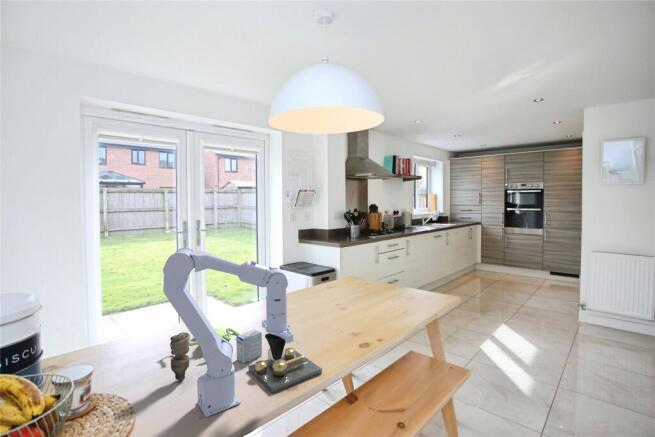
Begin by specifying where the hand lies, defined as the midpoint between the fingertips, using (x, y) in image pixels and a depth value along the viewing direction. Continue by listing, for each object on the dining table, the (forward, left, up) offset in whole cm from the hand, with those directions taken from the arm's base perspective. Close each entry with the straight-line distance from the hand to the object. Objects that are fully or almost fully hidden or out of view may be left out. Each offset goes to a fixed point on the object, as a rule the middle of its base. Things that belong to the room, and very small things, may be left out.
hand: (277, 358), depth 93 cm
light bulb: (-20, +24, -11) cm, 33 cm away
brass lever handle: (+8, +7, -9) cm, 14 cm away
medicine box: (+3, +25, -11) cm, 27 cm away
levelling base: (+8, +9, -10) cm, 16 cm away
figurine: (-6, +43, -11) cm, 45 cm away
